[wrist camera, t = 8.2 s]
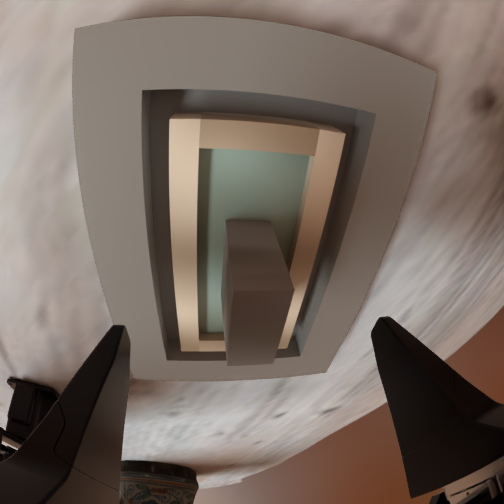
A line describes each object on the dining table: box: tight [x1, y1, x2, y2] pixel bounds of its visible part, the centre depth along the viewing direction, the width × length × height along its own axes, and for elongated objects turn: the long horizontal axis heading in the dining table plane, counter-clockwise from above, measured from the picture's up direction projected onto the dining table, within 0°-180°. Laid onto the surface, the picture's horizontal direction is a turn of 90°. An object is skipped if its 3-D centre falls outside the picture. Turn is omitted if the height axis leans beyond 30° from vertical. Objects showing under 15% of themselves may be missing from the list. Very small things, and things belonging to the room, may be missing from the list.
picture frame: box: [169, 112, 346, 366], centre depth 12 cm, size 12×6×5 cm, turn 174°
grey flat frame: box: [72, 16, 437, 381], centre depth 13 cm, size 19×13×2 cm
